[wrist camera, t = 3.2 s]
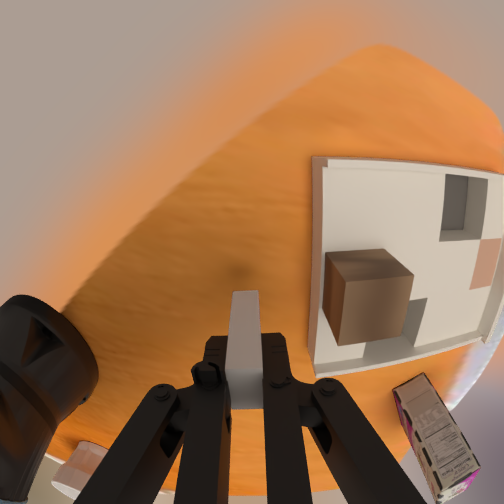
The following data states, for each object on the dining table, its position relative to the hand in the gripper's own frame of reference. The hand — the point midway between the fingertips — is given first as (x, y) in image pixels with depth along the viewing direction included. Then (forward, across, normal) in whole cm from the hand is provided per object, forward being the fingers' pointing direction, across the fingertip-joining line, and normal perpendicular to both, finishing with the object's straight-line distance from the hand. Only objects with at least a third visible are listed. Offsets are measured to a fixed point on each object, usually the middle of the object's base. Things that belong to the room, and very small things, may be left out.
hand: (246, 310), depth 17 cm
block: (+3, +8, 0) cm, 8 cm away
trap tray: (+6, +15, 0) cm, 16 cm away
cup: (+6, -29, -35) cm, 46 cm away
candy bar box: (+7, +21, -21) cm, 31 cm away
